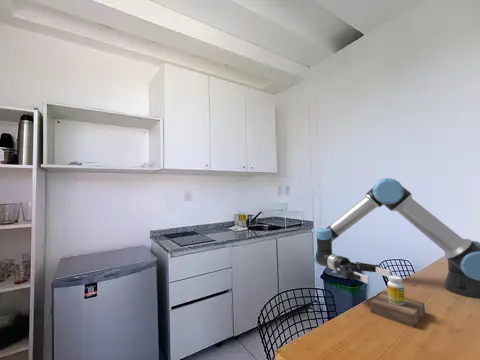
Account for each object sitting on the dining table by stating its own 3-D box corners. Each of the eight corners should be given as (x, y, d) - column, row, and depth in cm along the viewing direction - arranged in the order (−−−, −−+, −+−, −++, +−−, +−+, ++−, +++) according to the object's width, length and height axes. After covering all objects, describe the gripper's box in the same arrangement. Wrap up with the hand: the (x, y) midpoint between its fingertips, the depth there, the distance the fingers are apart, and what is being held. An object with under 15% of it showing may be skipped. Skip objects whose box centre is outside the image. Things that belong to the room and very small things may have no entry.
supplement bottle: (392, 297, 96) (390, 273, 97) (407, 302, 92) (405, 277, 92) (385, 301, 93) (384, 276, 94) (401, 307, 89) (399, 280, 89)
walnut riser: (384, 301, 102) (384, 291, 102) (425, 313, 91) (424, 302, 92) (370, 312, 94) (369, 301, 94) (412, 327, 83) (412, 315, 83)
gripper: (357, 267, 123) (399, 281, 104) (320, 275, 113) (358, 292, 94) (356, 252, 123) (398, 263, 104) (319, 259, 113) (357, 272, 94)
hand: (379, 277), depth 99 cm, fingers open, 13 cm apart
